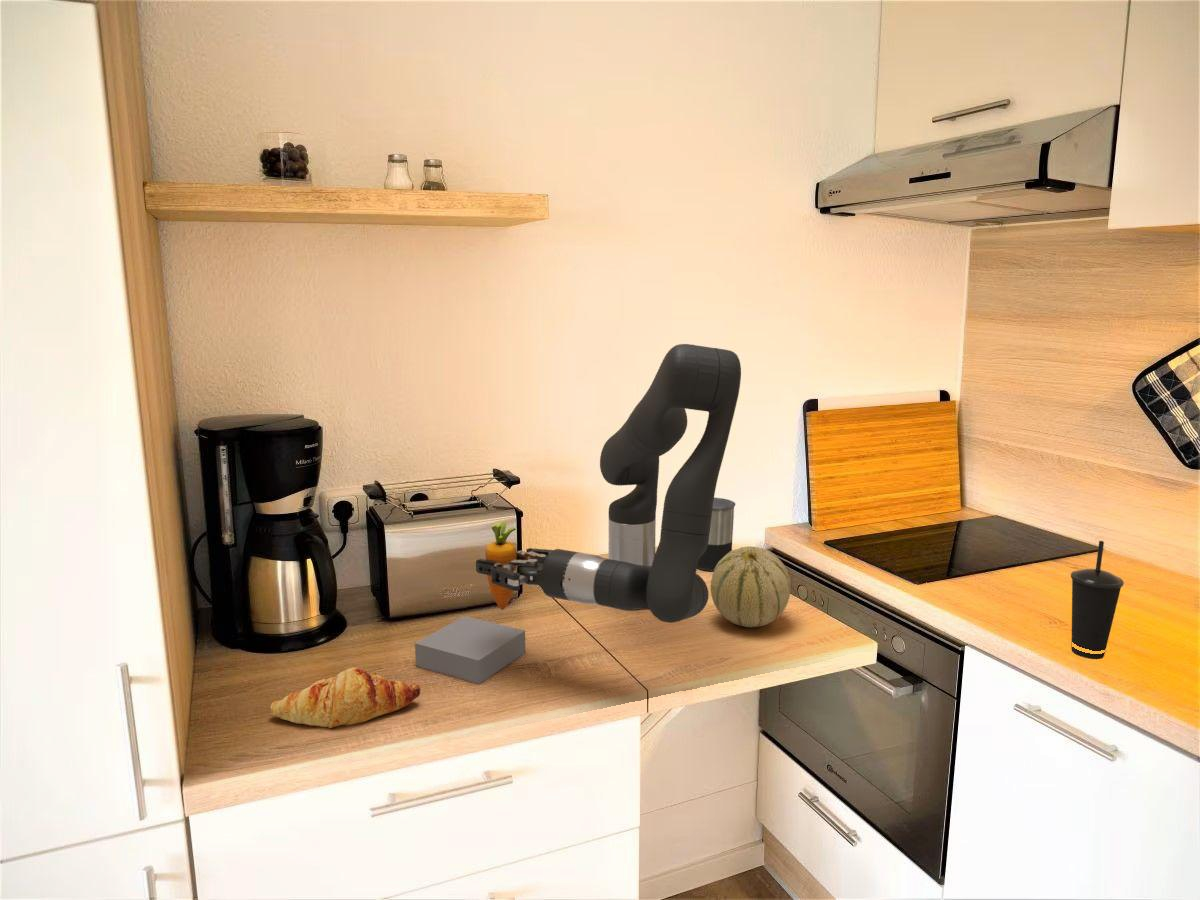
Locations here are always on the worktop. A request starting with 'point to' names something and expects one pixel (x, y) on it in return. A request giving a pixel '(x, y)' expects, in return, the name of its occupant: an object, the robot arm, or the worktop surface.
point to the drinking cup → (1093, 607)
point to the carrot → (501, 553)
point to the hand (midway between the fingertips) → (487, 560)
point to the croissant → (345, 699)
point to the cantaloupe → (750, 586)
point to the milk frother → (718, 534)
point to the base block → (470, 649)
